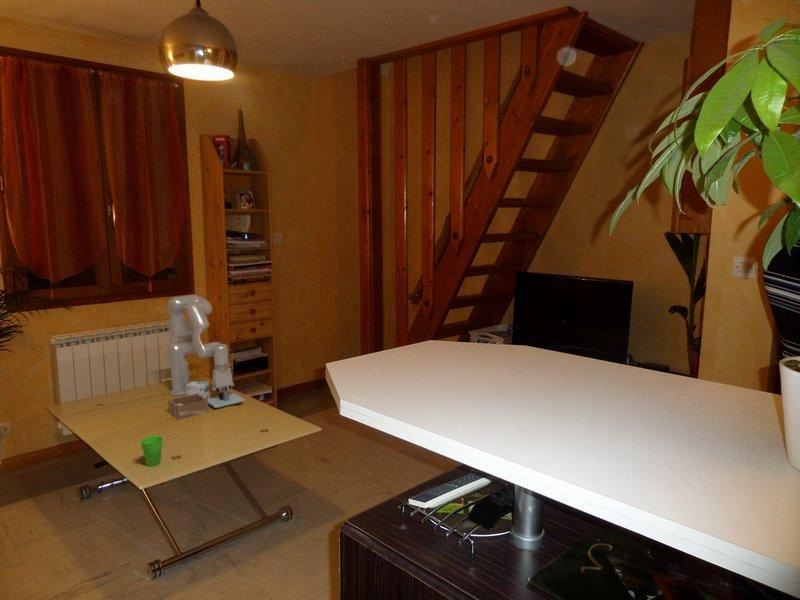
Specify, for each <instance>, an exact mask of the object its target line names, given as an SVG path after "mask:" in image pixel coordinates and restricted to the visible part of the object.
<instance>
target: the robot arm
mask: <svg viewBox="0 0 800 600" xmlns="http://www.w3.org/2000/svg"><path fill="white" fill-rule="evenodd" d="M166 309H167V313H168V316H169V335H170V338H171V339H173V340H174V341H173V342H170V343H169V344H168V345H167V354H168V356H169V363H170V372H171V373H170V374H171V384H172V385H171V386H172V387H171V389H172V390H170V391H169V394H170V395H171V396H184V395H185V396H187V388H186V385H187V384H189V383H190V375H189V364H188V361H187V360H186V358H185V356H188V355H193V354H195V353H196V355H197V356H198V357H199V358H200V359H207V358H210V357H213V362H214V363H213V364H214V369H213V370H212V383H211V384H212V387H211V390H213V391H214V392H215V391H216V392H217V393H218V396H219V398H220V399H221V400H223V393H222V389H223V388H224V389H225V390H226V391H228V392H230V389H231V388H233V387H234V386H235V383H234V381H233V374H232V370H231V367H230V366H232V363H231V362H229V348H228V345H227V344H225V343H221V342H219V341H213V342H208V343H203V342H202V340H201V333H203V332H205V331H206V330H207V329H209V327H210V322H209V320H208V318H207V316H206V315H210V314H211V313H212V311H213V306H212V304H211V303H210V302H209V301H208V300H207V299H206V298H203V297H202V296H199V295H197V294H189V295H181V296H175V297H172V298H169V300H168V301H167V305H166ZM183 311H184V312H186V313H187V316H188V318H189V319H188V320H187V321H186V317H185V316H186V315H185V313H184V312H183Z"/></svg>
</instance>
